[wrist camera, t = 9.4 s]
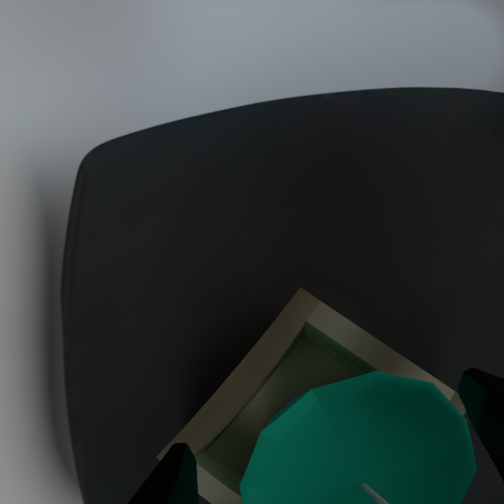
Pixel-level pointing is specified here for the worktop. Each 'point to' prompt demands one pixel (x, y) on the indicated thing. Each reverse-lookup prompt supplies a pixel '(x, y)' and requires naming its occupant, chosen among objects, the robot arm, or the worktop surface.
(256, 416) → the candle holder
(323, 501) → the candle
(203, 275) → the worktop surface
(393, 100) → the worktop surface
